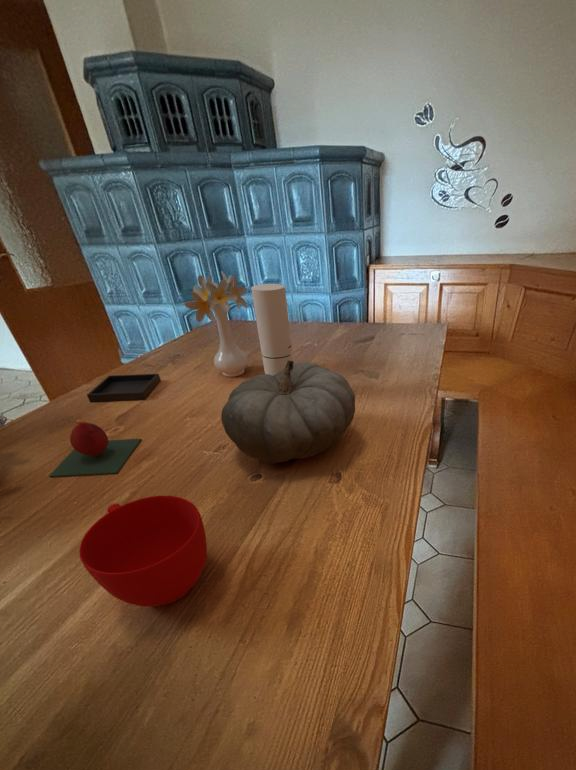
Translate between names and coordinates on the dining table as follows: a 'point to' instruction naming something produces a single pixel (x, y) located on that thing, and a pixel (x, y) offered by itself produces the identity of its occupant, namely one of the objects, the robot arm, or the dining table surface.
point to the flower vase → (221, 319)
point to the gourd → (289, 412)
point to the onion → (88, 439)
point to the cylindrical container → (272, 326)
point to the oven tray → (124, 388)
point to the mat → (97, 460)
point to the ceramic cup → (147, 550)
